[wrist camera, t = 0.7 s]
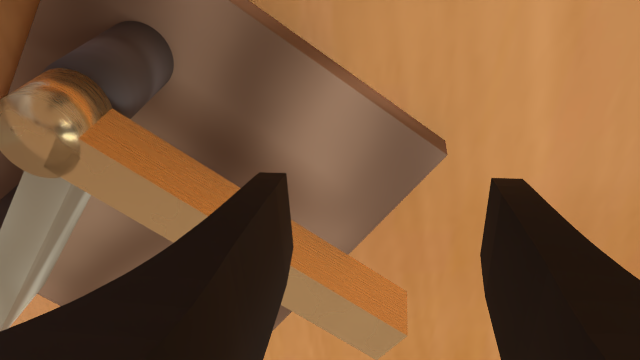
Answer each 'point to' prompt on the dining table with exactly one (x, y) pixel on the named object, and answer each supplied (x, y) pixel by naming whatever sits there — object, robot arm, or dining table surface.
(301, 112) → the wooden base plate
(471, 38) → the dining table surface
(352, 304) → the latch bar
